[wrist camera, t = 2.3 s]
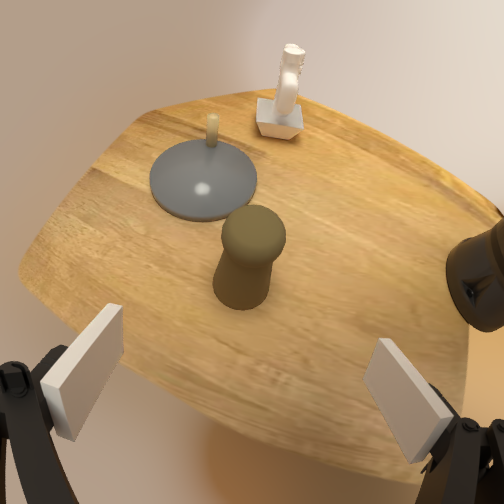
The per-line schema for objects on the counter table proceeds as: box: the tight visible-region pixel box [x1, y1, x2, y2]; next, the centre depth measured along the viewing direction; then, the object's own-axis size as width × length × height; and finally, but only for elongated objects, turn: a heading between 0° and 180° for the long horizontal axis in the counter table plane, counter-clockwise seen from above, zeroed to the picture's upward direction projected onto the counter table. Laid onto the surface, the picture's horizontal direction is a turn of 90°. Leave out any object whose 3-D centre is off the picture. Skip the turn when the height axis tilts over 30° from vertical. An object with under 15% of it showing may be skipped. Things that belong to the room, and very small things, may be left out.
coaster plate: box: [150, 113, 257, 222], centre depth 37 cm, size 14×14×6 cm
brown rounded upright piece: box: [213, 205, 286, 310], centre depth 28 cm, size 6×6×11 cm
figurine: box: [256, 44, 306, 140], centre depth 41 cm, size 7×9×15 cm
